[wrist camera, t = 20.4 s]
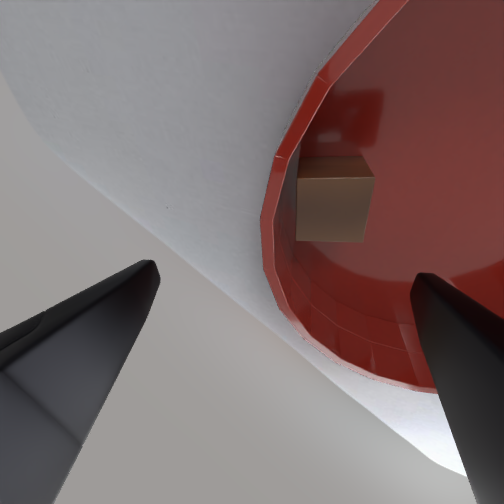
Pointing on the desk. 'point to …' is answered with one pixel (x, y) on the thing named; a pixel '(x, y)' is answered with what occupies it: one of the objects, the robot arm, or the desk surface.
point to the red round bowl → (396, 181)
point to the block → (333, 198)
